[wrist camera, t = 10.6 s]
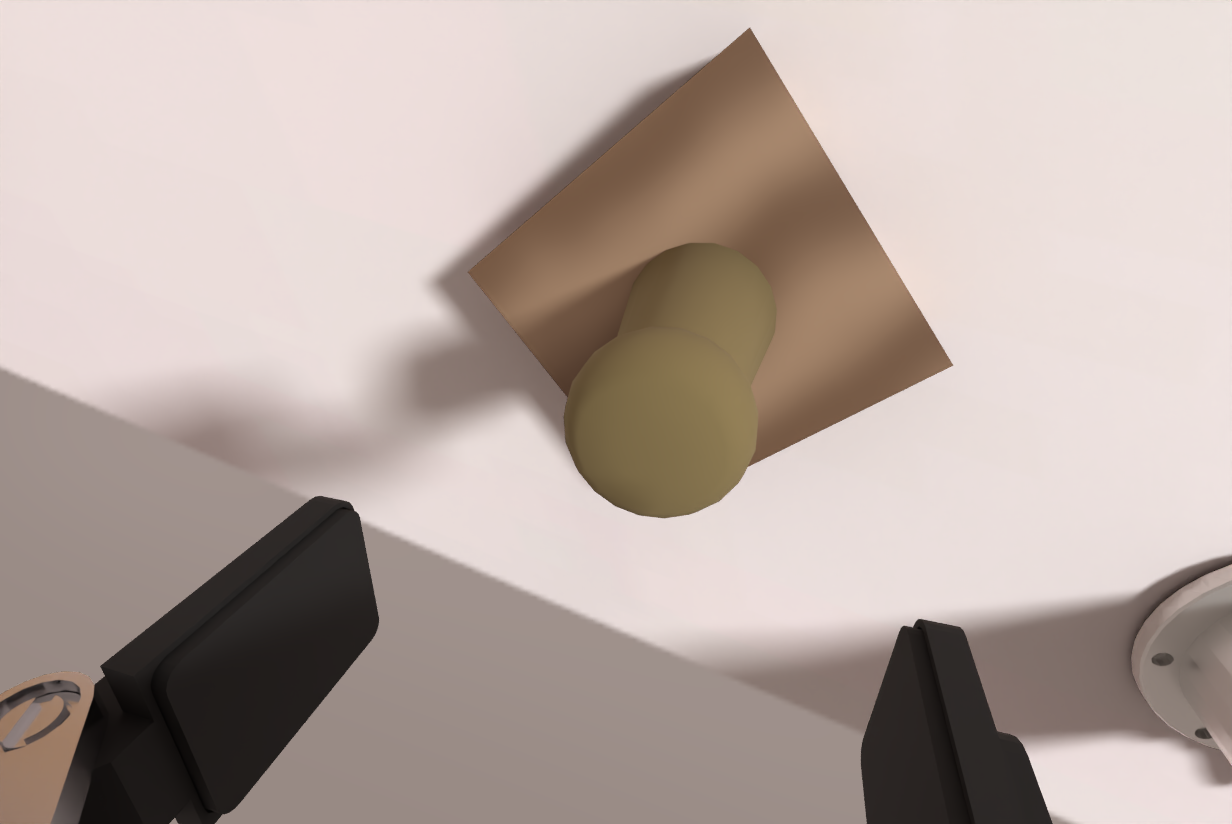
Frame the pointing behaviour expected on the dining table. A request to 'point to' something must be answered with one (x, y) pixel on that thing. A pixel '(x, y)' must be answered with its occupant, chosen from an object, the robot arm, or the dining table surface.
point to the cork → (675, 385)
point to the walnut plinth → (734, 218)
